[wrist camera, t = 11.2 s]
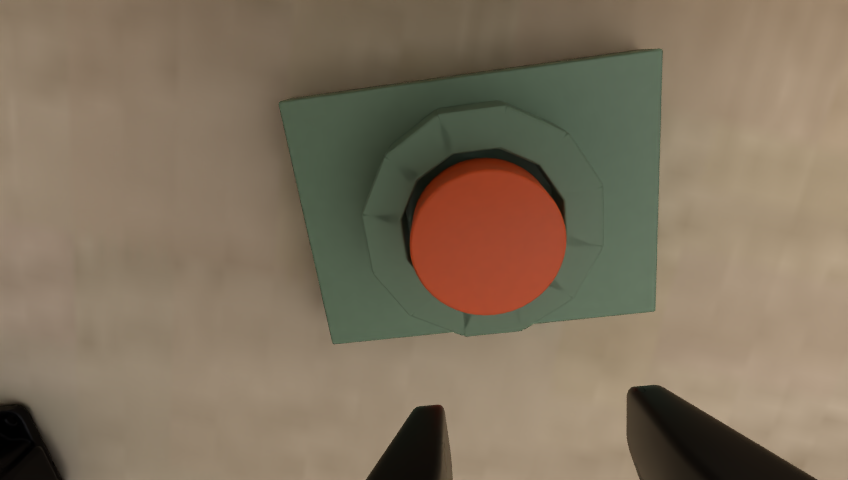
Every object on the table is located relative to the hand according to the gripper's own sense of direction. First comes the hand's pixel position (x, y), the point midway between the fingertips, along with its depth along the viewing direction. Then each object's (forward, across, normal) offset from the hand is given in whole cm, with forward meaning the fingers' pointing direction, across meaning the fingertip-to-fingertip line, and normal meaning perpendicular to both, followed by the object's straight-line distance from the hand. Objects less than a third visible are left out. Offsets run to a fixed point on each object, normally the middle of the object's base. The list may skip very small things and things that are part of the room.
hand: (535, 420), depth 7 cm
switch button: (+9, 0, 0) cm, 9 cm away
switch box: (+12, 0, 0) cm, 12 cm away
